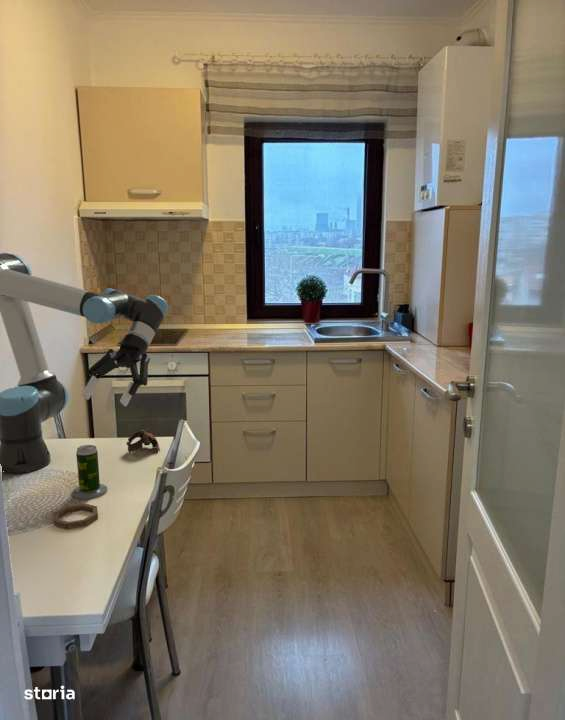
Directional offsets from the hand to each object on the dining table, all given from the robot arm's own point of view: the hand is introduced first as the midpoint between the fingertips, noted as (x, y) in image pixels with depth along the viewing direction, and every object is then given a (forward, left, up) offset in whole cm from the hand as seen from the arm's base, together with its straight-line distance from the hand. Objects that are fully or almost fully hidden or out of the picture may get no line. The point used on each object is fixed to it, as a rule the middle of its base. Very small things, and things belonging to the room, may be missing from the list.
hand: (103, 400), depth 153 cm
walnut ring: (+10, -22, -23) cm, 34 cm away
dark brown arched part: (-5, +22, -23) cm, 33 cm away
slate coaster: (+2, -9, -23) cm, 25 cm away
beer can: (+2, -9, -23) cm, 25 cm away
